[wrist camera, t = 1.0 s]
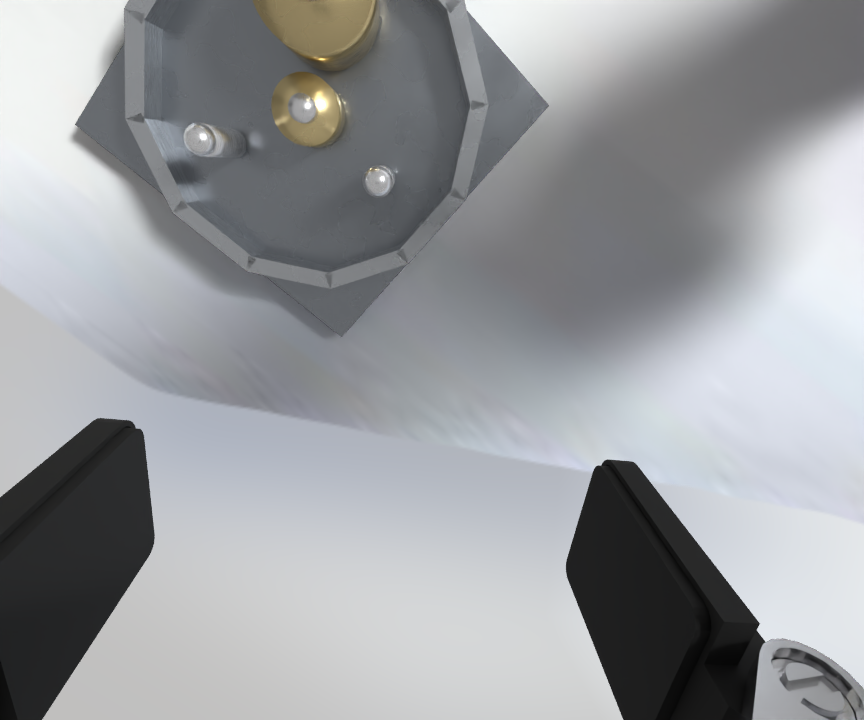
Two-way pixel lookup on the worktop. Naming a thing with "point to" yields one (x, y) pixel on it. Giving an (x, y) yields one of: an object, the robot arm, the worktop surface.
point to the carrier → (311, 130)
